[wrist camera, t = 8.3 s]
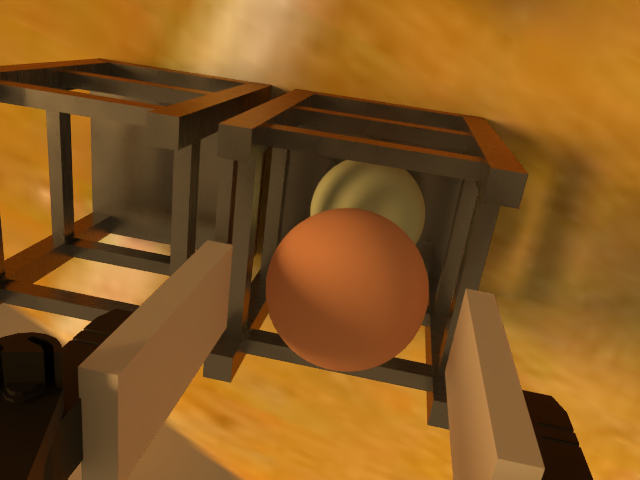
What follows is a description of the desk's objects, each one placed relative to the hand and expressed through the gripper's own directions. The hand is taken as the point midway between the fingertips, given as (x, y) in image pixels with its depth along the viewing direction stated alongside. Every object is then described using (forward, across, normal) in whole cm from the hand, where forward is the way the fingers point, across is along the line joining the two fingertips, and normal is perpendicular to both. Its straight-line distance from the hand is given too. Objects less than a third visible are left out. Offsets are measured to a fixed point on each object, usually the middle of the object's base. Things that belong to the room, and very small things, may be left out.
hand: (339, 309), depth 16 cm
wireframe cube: (+12, -10, 0) cm, 16 cm away
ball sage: (+9, 0, 0) cm, 9 cm away
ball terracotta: (+1, 0, 0) cm, 1 cm away
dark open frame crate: (+12, 0, 0) cm, 12 cm away
